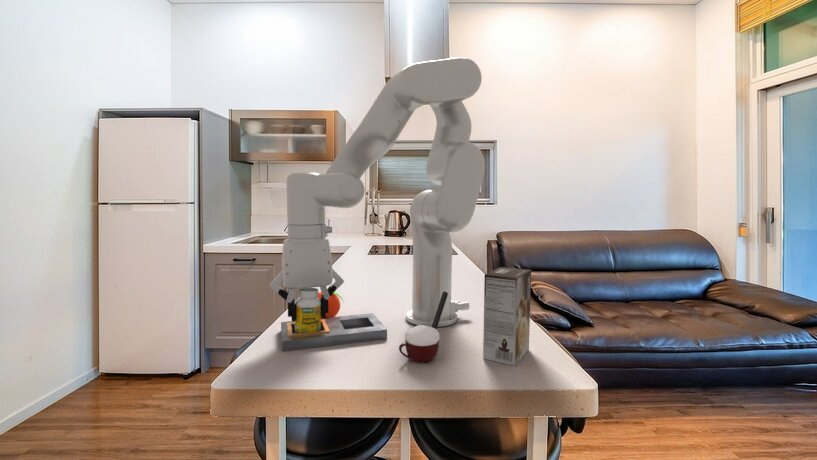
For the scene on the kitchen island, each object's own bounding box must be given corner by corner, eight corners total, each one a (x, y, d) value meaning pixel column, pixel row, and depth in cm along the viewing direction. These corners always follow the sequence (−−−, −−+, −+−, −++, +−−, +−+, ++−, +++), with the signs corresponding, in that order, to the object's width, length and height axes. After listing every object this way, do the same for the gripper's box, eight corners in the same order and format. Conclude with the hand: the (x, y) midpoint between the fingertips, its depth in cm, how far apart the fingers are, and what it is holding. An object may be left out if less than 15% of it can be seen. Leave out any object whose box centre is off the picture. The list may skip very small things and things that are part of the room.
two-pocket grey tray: (373, 321, 92) (373, 311, 91) (387, 338, 80) (387, 328, 80) (281, 330, 84) (280, 320, 84) (282, 351, 73) (282, 339, 73)
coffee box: (498, 343, 78) (500, 266, 77) (529, 350, 75) (532, 269, 74) (481, 359, 70) (483, 273, 69) (516, 367, 67) (519, 277, 66)
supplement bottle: (315, 328, 84) (316, 285, 84) (324, 336, 80) (325, 291, 79) (290, 332, 81) (292, 287, 81) (298, 340, 77) (300, 293, 76)
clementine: (348, 316, 96) (348, 288, 95) (338, 325, 89) (338, 295, 88) (318, 314, 97) (318, 286, 96) (306, 322, 90) (306, 293, 90)
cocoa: (399, 367, 68) (396, 302, 66) (399, 352, 74) (397, 292, 72) (452, 365, 68) (451, 300, 66) (448, 350, 74) (447, 290, 72)
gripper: (344, 230, 85) (345, 309, 87) (262, 232, 79) (265, 317, 81) (351, 233, 78) (352, 319, 80) (261, 235, 72) (264, 328, 74)
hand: (308, 317), depth 80 cm, fingers closed on supplement bottle, 5 cm apart
